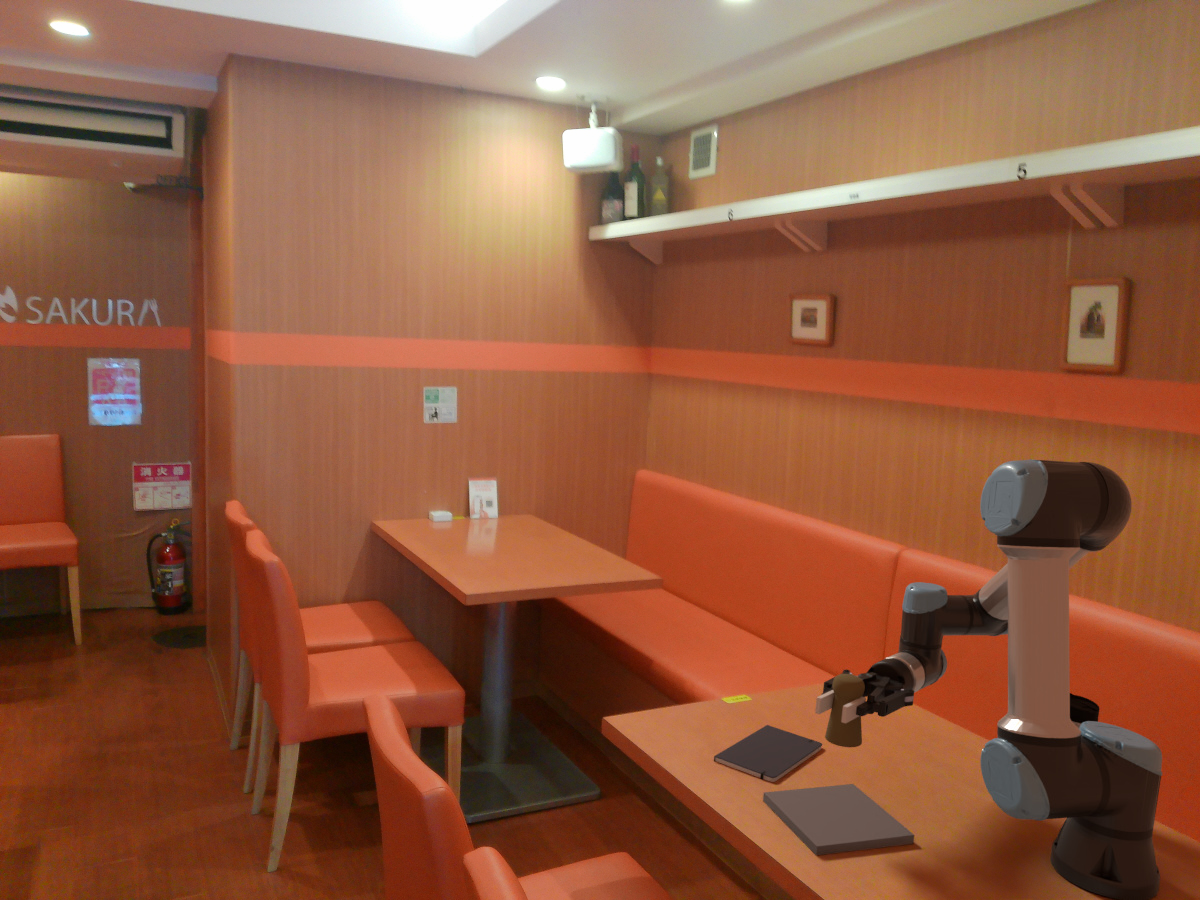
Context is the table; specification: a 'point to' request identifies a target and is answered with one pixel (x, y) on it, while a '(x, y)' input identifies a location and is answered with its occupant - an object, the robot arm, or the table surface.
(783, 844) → the table surface
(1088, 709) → the travel mug
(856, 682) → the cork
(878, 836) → the slate board
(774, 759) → the notebook
